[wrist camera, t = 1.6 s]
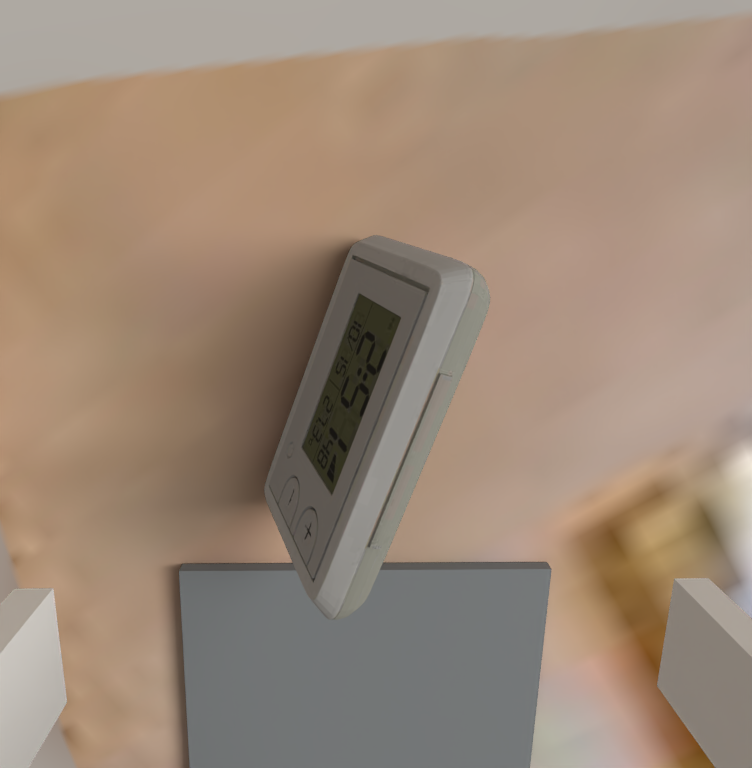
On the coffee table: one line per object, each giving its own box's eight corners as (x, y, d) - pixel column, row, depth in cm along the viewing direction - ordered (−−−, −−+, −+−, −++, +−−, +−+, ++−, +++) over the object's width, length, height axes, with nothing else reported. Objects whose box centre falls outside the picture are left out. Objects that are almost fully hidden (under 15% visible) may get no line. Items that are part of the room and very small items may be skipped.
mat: (546, 562, 36) (551, 569, 36) (521, 798, 41) (525, 809, 40) (182, 563, 35) (178, 571, 34) (195, 808, 39) (192, 820, 38)
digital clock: (369, 216, 31) (383, 204, 21) (507, 308, 33) (584, 338, 22) (218, 465, 34) (164, 564, 23) (352, 538, 35) (357, 661, 25)
